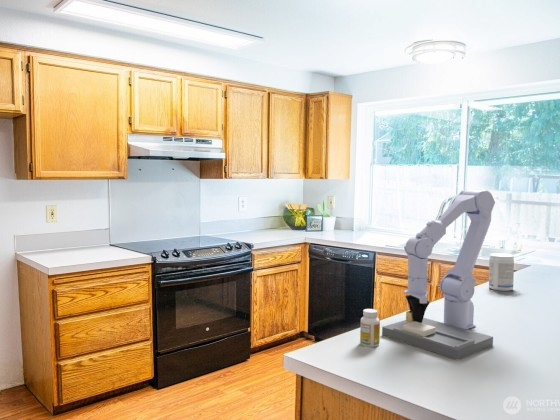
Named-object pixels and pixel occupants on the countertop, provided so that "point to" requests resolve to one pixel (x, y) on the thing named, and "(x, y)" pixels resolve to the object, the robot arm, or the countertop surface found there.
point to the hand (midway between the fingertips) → (416, 320)
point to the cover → (419, 328)
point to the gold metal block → (410, 316)
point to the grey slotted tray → (441, 339)
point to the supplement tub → (501, 271)
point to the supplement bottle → (370, 328)
